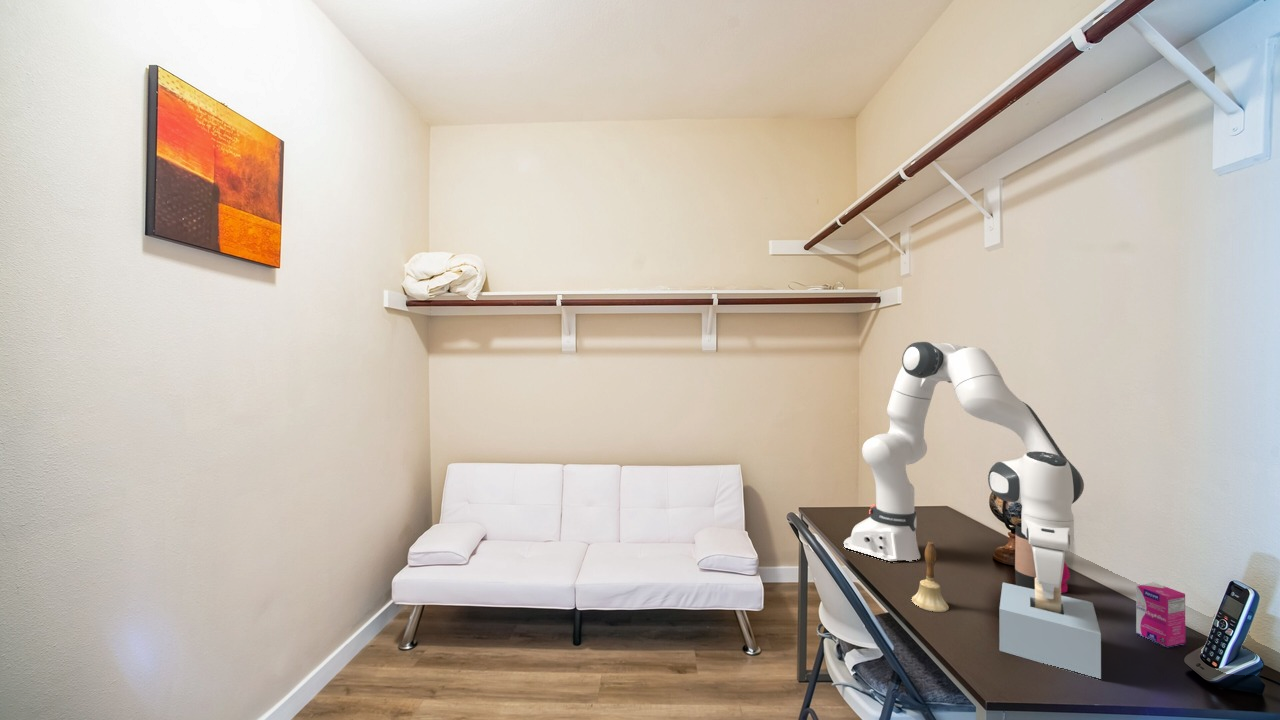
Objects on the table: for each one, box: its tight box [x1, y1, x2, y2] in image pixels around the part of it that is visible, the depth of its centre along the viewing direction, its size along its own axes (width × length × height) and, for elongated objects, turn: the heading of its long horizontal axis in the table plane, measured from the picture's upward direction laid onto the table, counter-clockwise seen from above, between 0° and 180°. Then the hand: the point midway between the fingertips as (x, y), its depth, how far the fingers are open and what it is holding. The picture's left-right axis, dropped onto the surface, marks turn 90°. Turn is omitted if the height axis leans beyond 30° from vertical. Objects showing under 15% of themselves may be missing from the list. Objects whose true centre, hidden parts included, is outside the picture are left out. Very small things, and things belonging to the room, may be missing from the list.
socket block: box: [998, 582, 1102, 680], centre depth 108 cm, size 16×16×9 cm
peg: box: [1035, 577, 1062, 614], centre depth 107 cm, size 4×4×8 cm
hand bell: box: [910, 540, 950, 613], centre depth 126 cm, size 8×8×16 cm
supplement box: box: [1135, 581, 1186, 647], centre depth 110 cm, size 6×6×12 cm
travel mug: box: [1014, 522, 1036, 589], centre depth 125 cm, size 8×8×20 cm
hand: (1047, 592), depth 107 cm, fingers closed on peg, 4 cm apart
